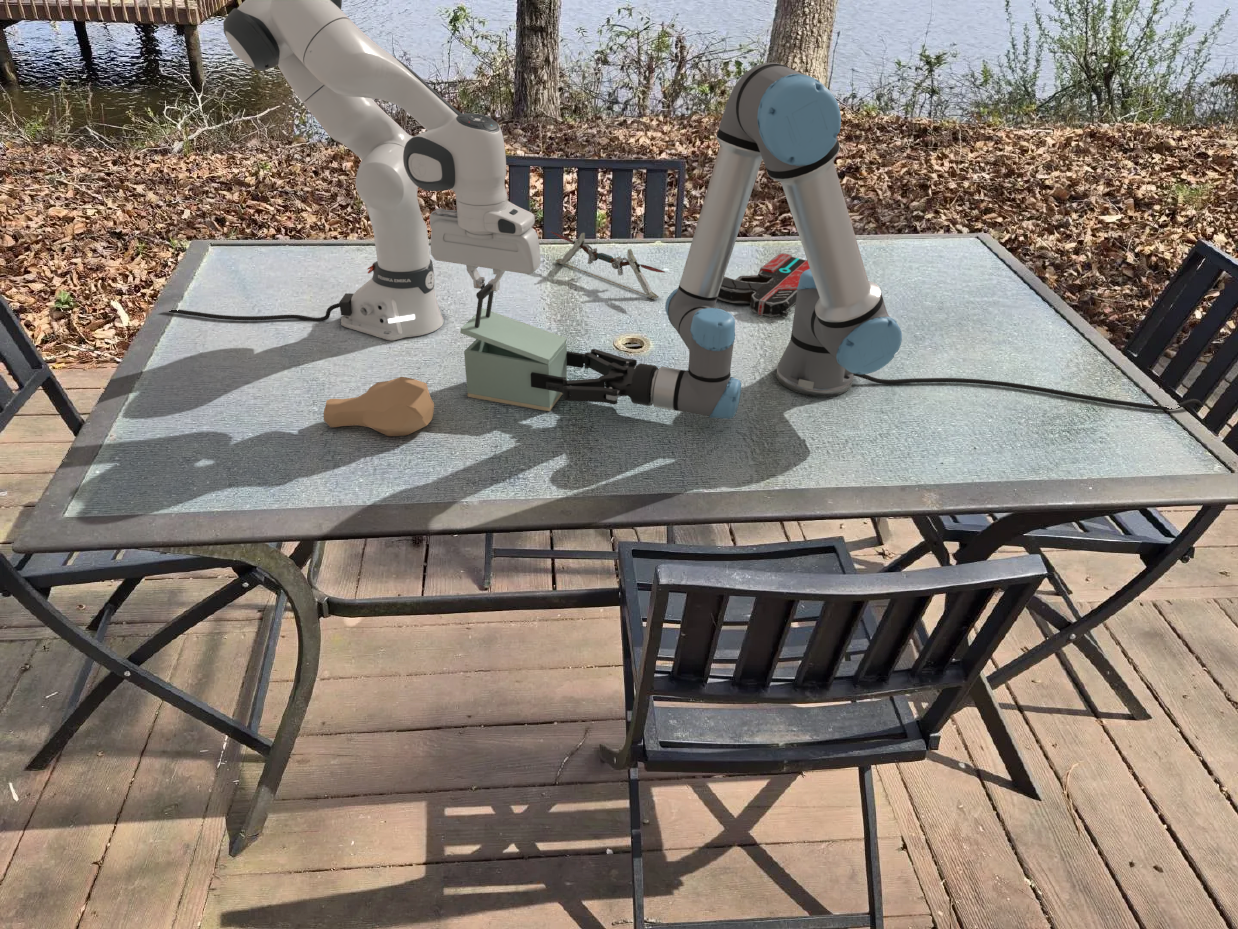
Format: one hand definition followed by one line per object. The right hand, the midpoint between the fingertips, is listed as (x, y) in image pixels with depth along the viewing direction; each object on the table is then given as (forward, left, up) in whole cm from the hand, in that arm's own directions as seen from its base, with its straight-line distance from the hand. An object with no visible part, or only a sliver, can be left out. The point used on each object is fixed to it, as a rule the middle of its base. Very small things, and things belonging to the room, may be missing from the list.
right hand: (541, 367), depth 166 cm
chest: (+5, -2, -6) cm, 8 cm away
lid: (+5, -2, +5) cm, 7 cm away
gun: (-59, -48, -6) cm, 76 cm away
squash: (+30, +9, -6) cm, 32 cm away
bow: (-19, -58, -6) cm, 61 cm away
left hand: (+9, -4, +14) cm, 18 cm away
